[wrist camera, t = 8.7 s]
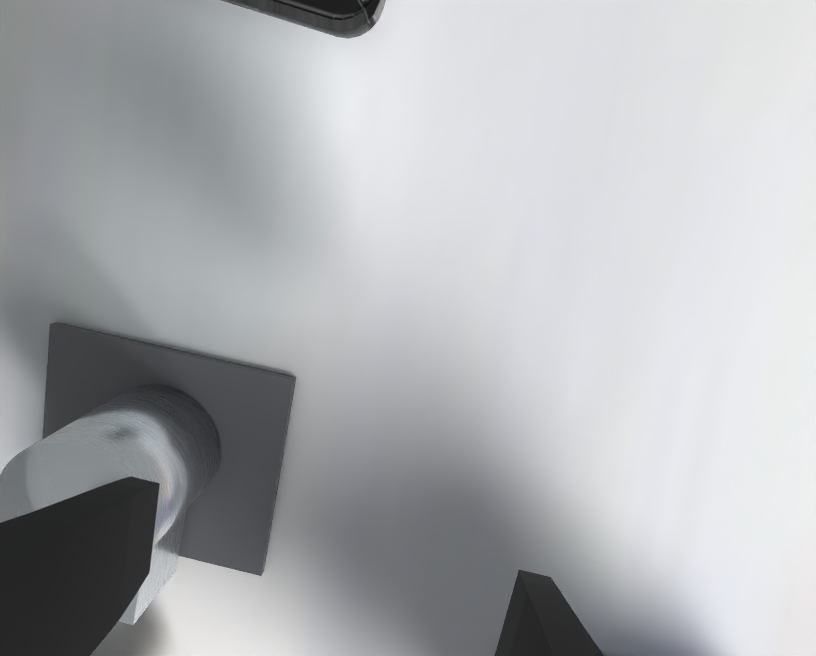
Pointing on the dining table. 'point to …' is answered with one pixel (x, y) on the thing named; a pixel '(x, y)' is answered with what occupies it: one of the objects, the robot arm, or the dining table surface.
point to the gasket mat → (228, 407)
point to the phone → (322, 14)
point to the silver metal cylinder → (124, 467)
